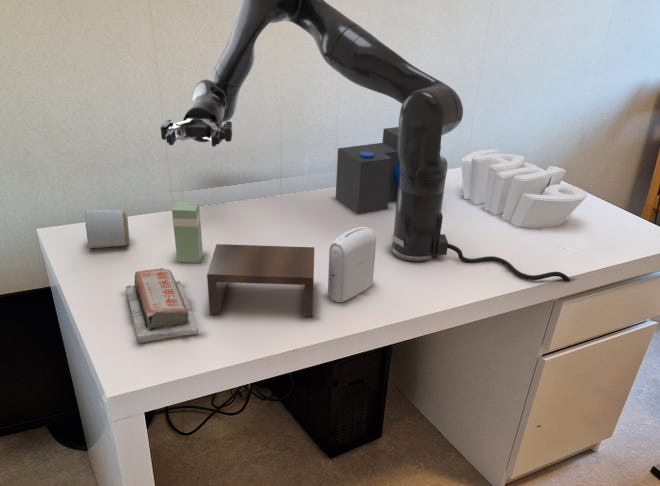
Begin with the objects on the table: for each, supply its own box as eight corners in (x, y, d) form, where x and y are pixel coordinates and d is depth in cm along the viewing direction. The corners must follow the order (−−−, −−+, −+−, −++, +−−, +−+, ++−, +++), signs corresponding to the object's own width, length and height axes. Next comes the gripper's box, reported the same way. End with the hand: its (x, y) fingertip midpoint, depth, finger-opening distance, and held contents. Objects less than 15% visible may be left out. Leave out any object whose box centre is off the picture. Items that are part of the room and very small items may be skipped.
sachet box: (203, 254, 136) (199, 202, 130) (200, 263, 132) (195, 210, 126) (180, 253, 136) (175, 202, 129) (176, 262, 132) (171, 210, 126)
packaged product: (122, 269, 118) (178, 262, 122) (125, 293, 121) (180, 286, 124) (134, 319, 105) (197, 310, 108) (138, 345, 108) (199, 335, 111)
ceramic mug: (131, 251, 135) (126, 215, 131) (89, 254, 133) (82, 218, 129) (129, 230, 144) (124, 196, 140) (90, 233, 142) (83, 199, 138)
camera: (369, 222, 153) (374, 154, 144) (335, 198, 164) (338, 133, 155) (455, 206, 163) (465, 141, 154) (418, 185, 175) (425, 123, 166)
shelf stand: (313, 285, 127) (314, 247, 122) (312, 317, 117) (313, 277, 112) (218, 282, 126) (216, 243, 122) (210, 315, 116) (206, 274, 112)
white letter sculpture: (443, 187, 174) (448, 146, 168) (492, 179, 181) (499, 140, 175) (534, 238, 149) (544, 193, 143) (587, 227, 156) (599, 183, 150)
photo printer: (341, 305, 121) (345, 243, 114) (324, 297, 123) (326, 235, 116) (375, 286, 128) (381, 226, 121) (358, 278, 130) (362, 219, 123)
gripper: (169, 100, 143) (153, 120, 129) (235, 102, 143) (226, 122, 130) (173, 135, 147) (157, 158, 134) (237, 137, 147) (228, 160, 134)
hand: (191, 140), depth 132 cm, fingers open, 8 cm apart
